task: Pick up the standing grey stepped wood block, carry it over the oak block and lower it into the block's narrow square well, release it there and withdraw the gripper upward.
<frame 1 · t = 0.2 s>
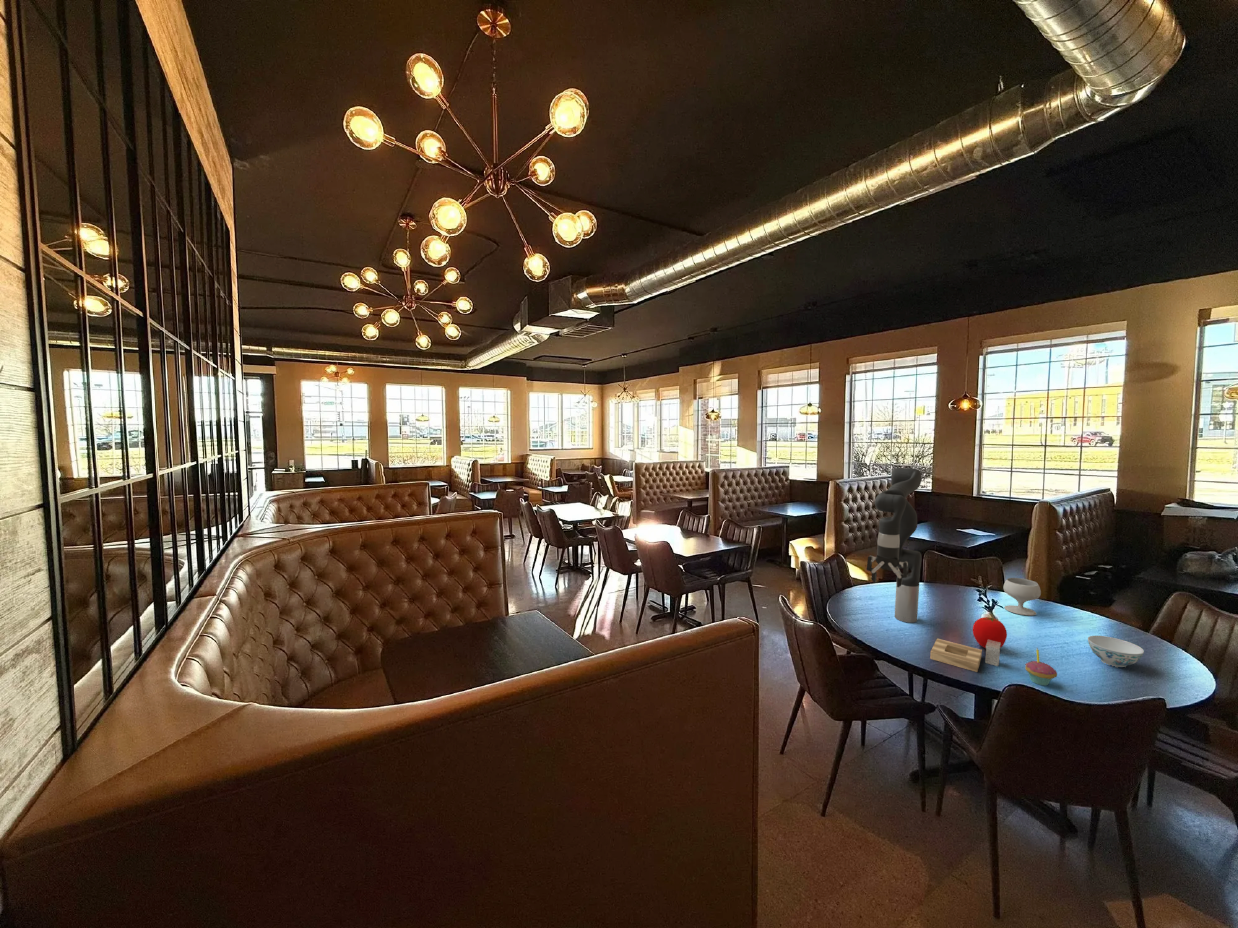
hand: (886, 584, 190), 29 cm above the table, fingers open, 8 cm apart
well block: (955, 657, 189), on the table
chalice: (1020, 611, 234), on the table
chinaware: (1113, 663, 184), on the table
cupcake: (1039, 682, 172), on the table
grey stepped wood block: (992, 662, 185), on the table
tomato: (988, 648, 197), on the table
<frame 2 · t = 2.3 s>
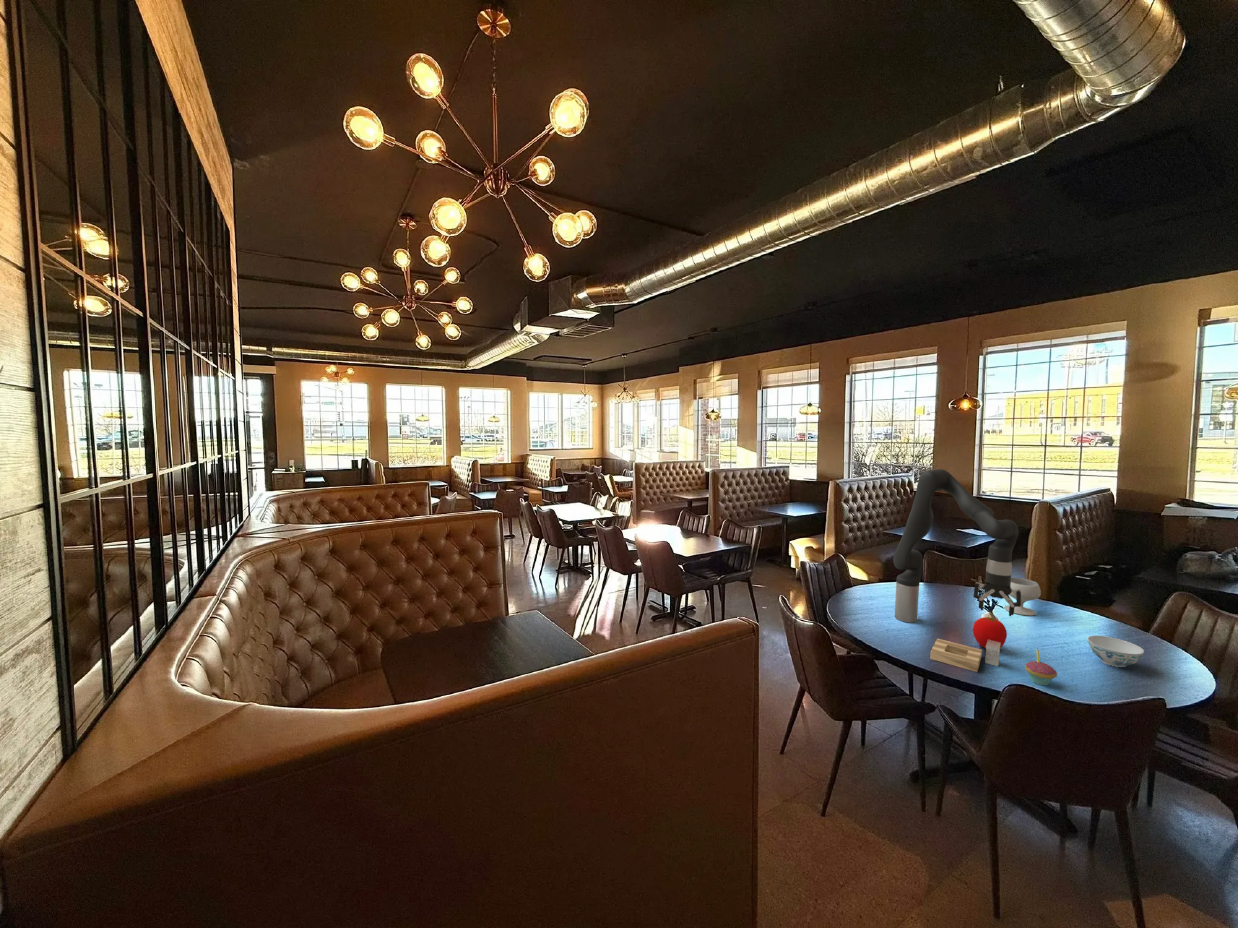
hand: (995, 612, 183), 20 cm above the table, fingers open, 8 cm apart
nothing on the table moved.
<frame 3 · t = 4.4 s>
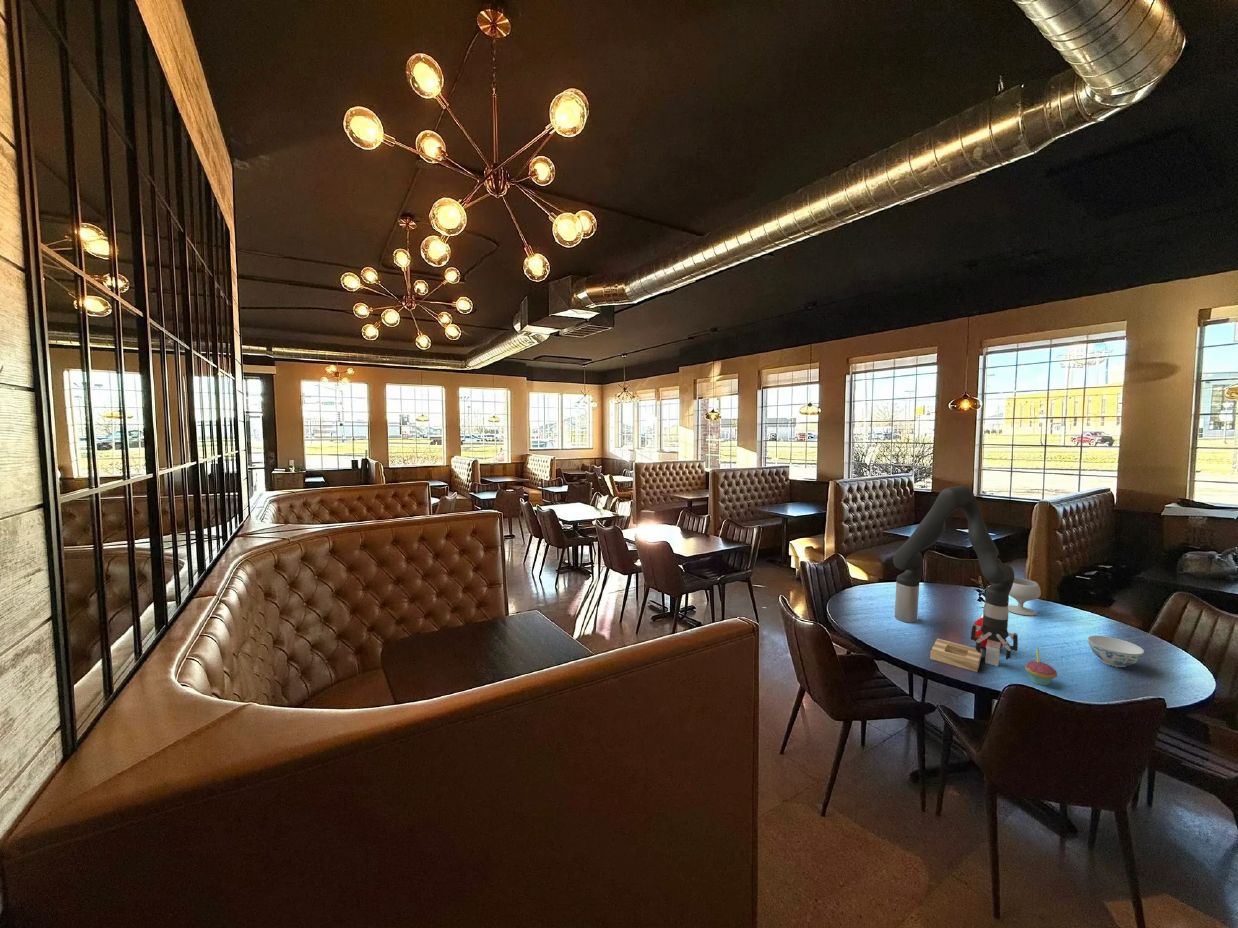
hand: (992, 655, 185), 3 cm above the table, fingers open, 8 cm apart
nothing on the table moved.
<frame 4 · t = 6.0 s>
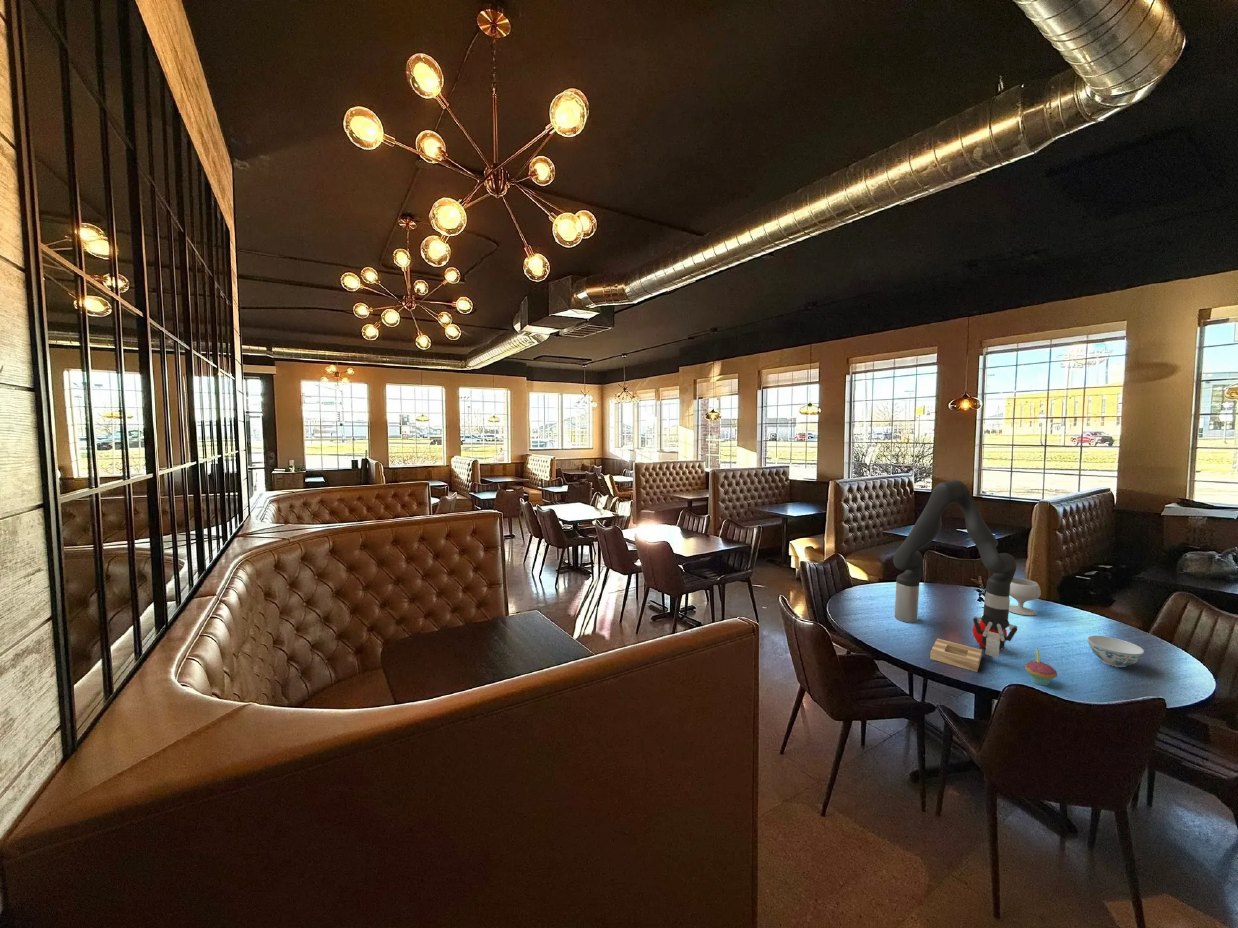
hand: (992, 646, 185), 6 cm above the table, fingers closed on grey stepped wood block, 4 cm apart
grey stepped wood block: (991, 654, 186), point 3 cm above the table, touching gripper
everything else where it was.
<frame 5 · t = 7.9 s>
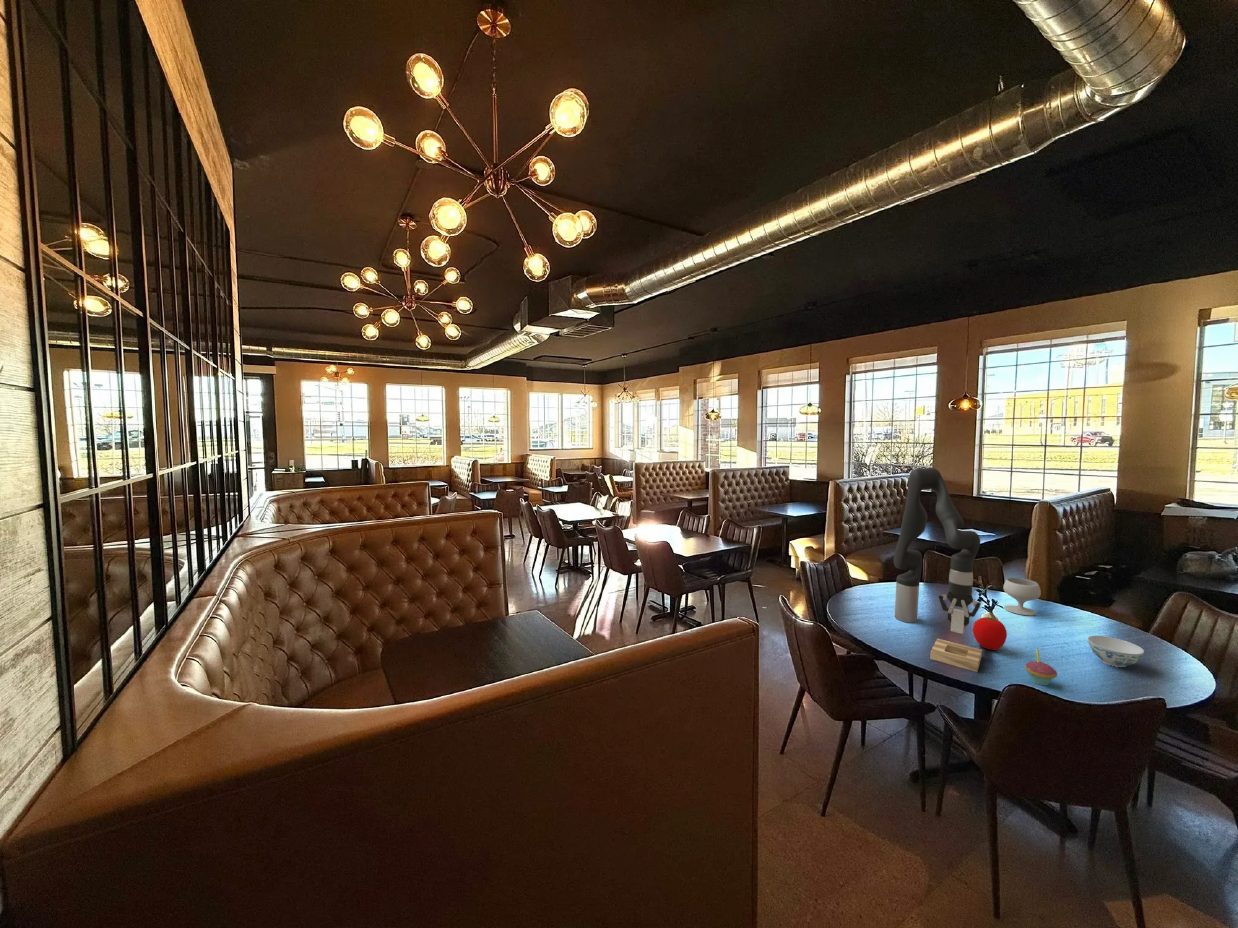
hand: (957, 623, 188), 14 cm above the table, fingers closed on grey stepped wood block, 4 cm apart
grey stepped wood block: (957, 630, 188), point 11 cm above the table, touching gripper
everything else where it was.
when the fingers open (3 cm above the table, at t = 10.3 s): grey stepped wood block stays where it is, resting in well block.
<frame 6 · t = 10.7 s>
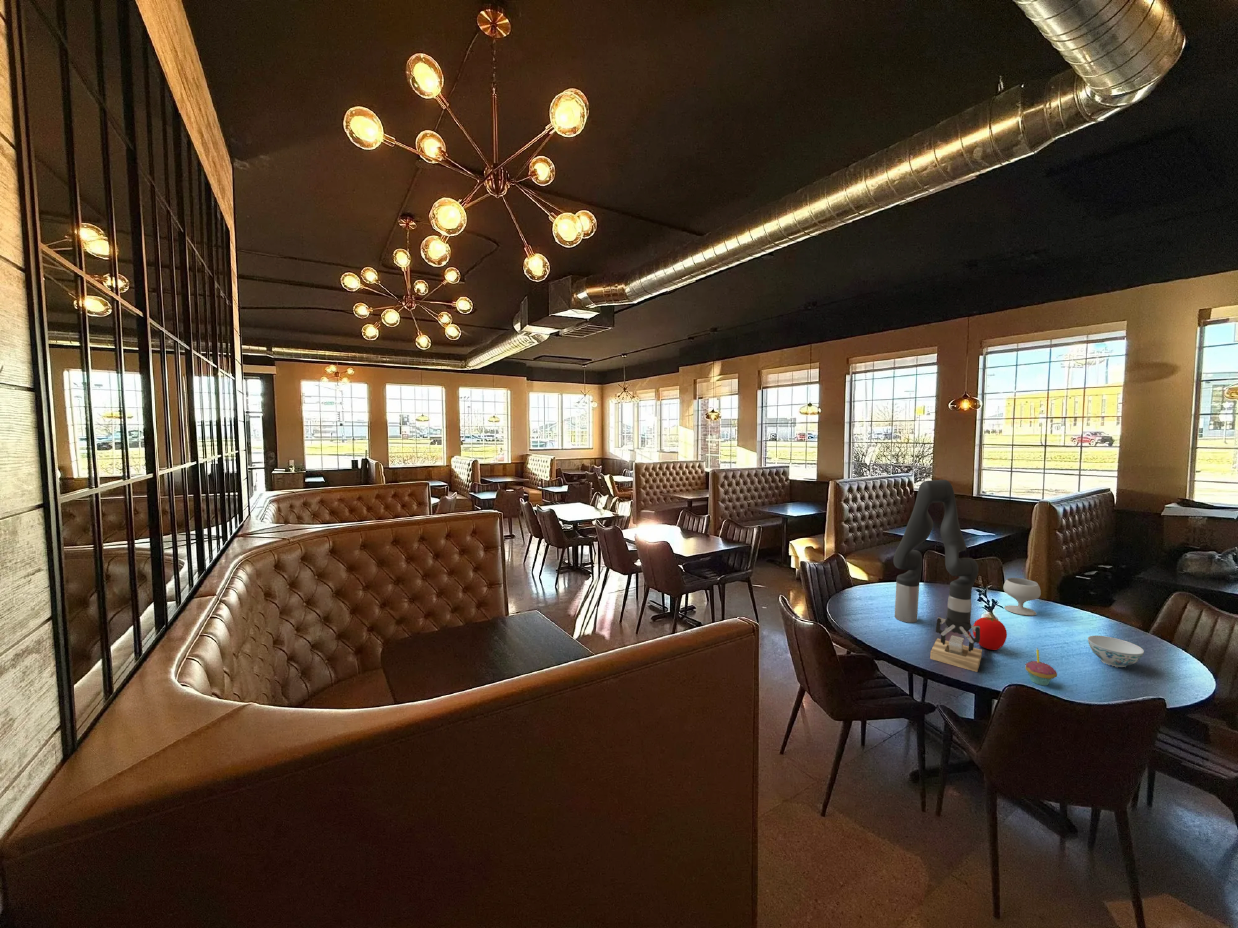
hand: (956, 647, 189), 4 cm above the table, fingers open, 8 cm apart
grey stepped wood block: (955, 657, 189), resting in well block
everything else where it was.
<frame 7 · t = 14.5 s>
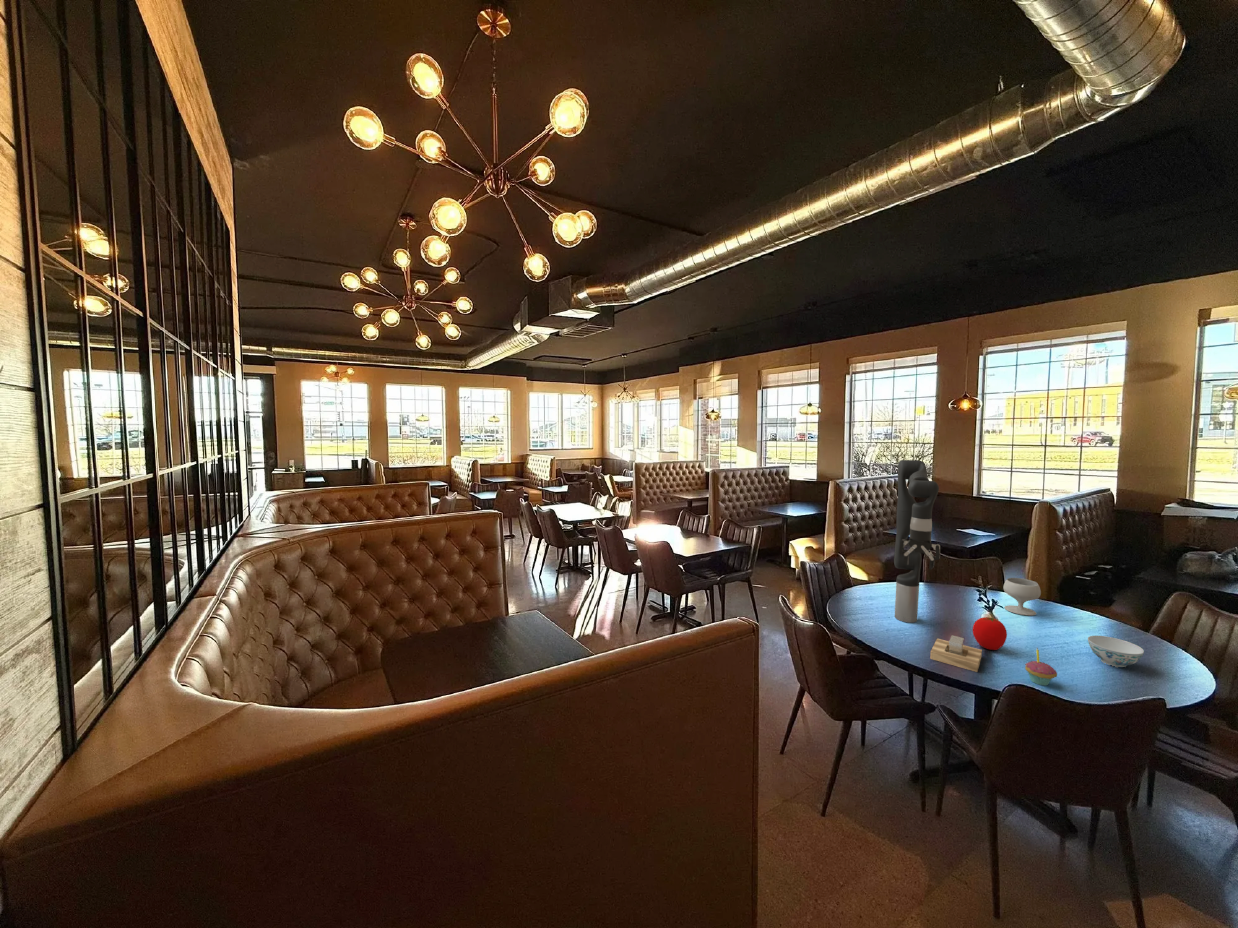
hand: (918, 566, 199), 33 cm above the table, fingers open, 8 cm apart
nothing on the table moved.
at the end: grey stepped wood block 0.2 cm off-centre on the well block, point 0.0 cm above the well block's base; grey stepped wood block tilted 0°; the gripper is holding nothing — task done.
